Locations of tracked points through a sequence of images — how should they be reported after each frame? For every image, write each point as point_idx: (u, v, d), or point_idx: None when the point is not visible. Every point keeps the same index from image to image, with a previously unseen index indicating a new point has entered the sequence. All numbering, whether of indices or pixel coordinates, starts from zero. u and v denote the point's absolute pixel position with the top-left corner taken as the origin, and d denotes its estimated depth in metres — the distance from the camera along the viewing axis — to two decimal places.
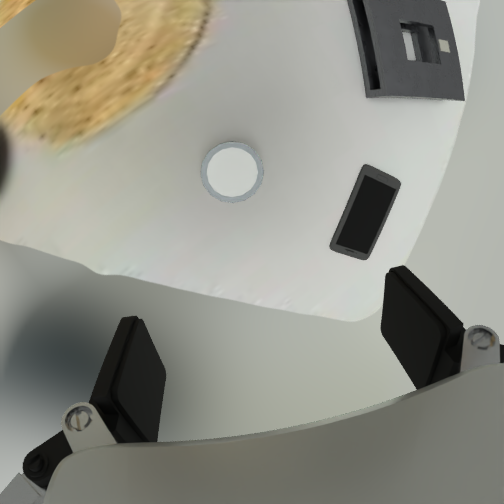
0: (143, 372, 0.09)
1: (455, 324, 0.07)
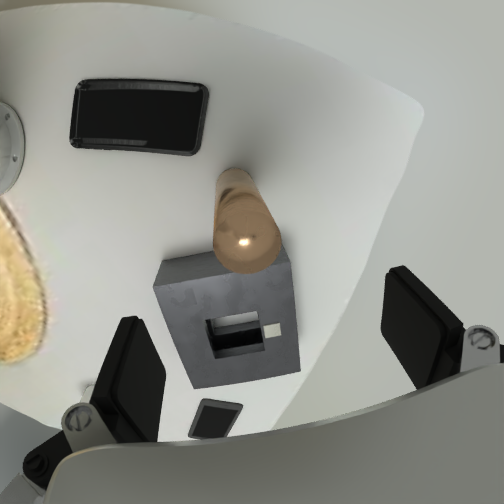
0: (143, 372, 0.09)
1: (455, 324, 0.07)
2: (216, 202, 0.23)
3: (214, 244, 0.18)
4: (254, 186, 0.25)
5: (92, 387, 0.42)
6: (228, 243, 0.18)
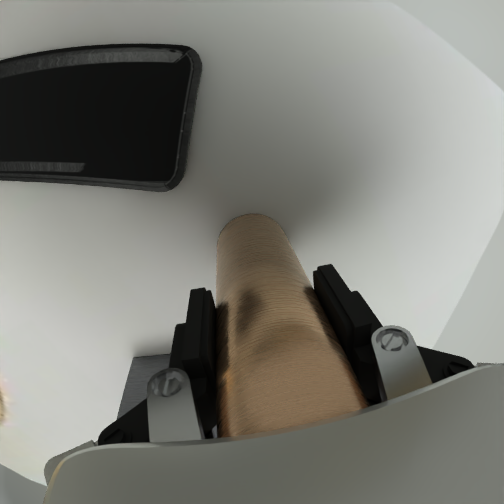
0: None
1: (362, 323, 0.08)
2: (219, 354, 0.08)
3: None
4: (309, 287, 0.11)
5: None
6: None
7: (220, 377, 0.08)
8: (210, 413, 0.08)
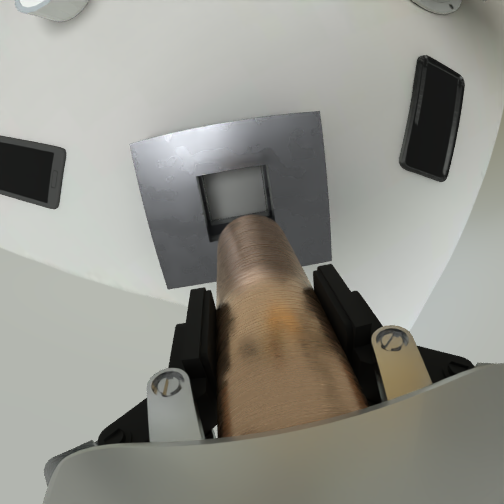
0: None
1: (362, 323, 0.08)
2: (220, 355, 0.08)
3: None
4: (309, 288, 0.11)
5: None
6: None
7: (221, 378, 0.08)
8: (210, 413, 0.08)
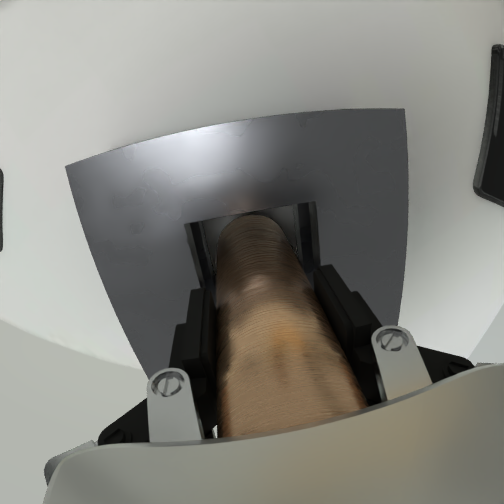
0: None
1: (362, 323, 0.08)
2: (220, 355, 0.08)
3: None
4: (309, 288, 0.11)
5: None
6: None
7: (220, 378, 0.08)
8: (210, 413, 0.08)
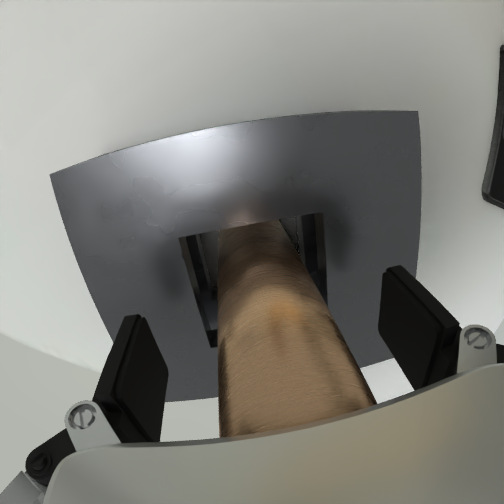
0: (146, 370, 0.09)
1: (451, 323, 0.07)
2: (221, 319, 0.10)
3: None
4: (301, 264, 0.12)
5: None
6: None
7: (221, 337, 0.09)
8: None
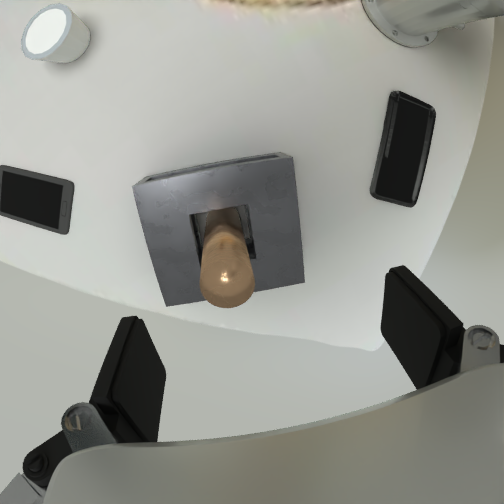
0: (143, 372, 0.09)
1: (455, 324, 0.07)
2: (204, 242, 0.27)
3: (200, 285, 0.22)
4: (238, 226, 0.30)
5: (88, 34, 0.25)
6: (212, 284, 0.22)
7: (204, 246, 0.27)
8: None
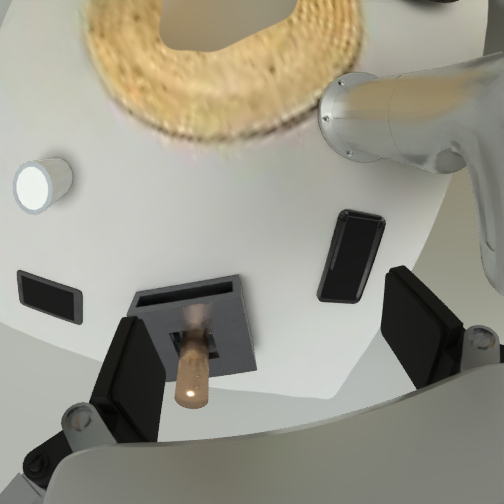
0: (143, 372, 0.09)
1: (455, 324, 0.07)
2: (179, 358, 0.38)
3: (175, 399, 0.32)
4: (203, 342, 0.40)
5: (70, 173, 0.35)
6: (182, 399, 0.32)
7: (179, 363, 0.37)
8: None
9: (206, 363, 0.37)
